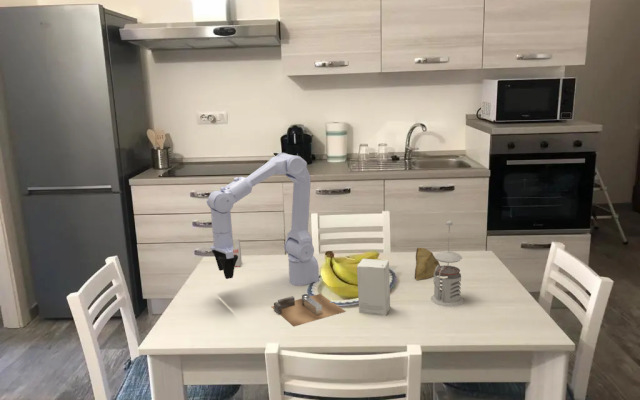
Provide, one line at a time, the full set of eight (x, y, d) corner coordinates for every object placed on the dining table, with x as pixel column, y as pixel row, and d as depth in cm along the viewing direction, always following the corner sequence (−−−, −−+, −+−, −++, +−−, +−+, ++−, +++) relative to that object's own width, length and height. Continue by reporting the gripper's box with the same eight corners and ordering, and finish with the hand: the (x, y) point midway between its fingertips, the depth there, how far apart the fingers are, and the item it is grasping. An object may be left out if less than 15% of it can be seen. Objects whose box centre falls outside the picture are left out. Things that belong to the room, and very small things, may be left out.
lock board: (320, 296, 164) (320, 286, 163) (346, 314, 151) (345, 303, 150) (270, 310, 155) (269, 299, 155) (292, 330, 143) (292, 318, 142)
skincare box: (390, 309, 153) (390, 259, 150) (385, 319, 147) (385, 267, 144) (363, 306, 156) (362, 257, 152) (357, 316, 150) (356, 265, 146)
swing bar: (300, 303, 157) (300, 295, 156) (307, 302, 158) (307, 293, 157) (315, 315, 149) (315, 306, 148) (322, 313, 150) (322, 304, 149)
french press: (469, 298, 159) (472, 219, 153) (450, 311, 151) (453, 228, 145) (441, 290, 166) (443, 214, 160) (421, 302, 158) (422, 223, 152)
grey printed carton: (223, 264, 195) (221, 238, 193) (241, 263, 195) (240, 238, 193) (222, 267, 191) (220, 241, 189) (240, 267, 192) (238, 241, 189)
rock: (441, 262, 183) (413, 258, 184) (446, 249, 177) (417, 245, 177) (441, 289, 177) (412, 285, 177) (447, 276, 170) (416, 272, 171)
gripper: (203, 227, 160) (207, 268, 163) (214, 239, 147) (218, 284, 150) (226, 223, 163) (229, 264, 166) (239, 235, 150) (242, 279, 153)
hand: (225, 273), depth 158 cm, fingers open, 7 cm apart
